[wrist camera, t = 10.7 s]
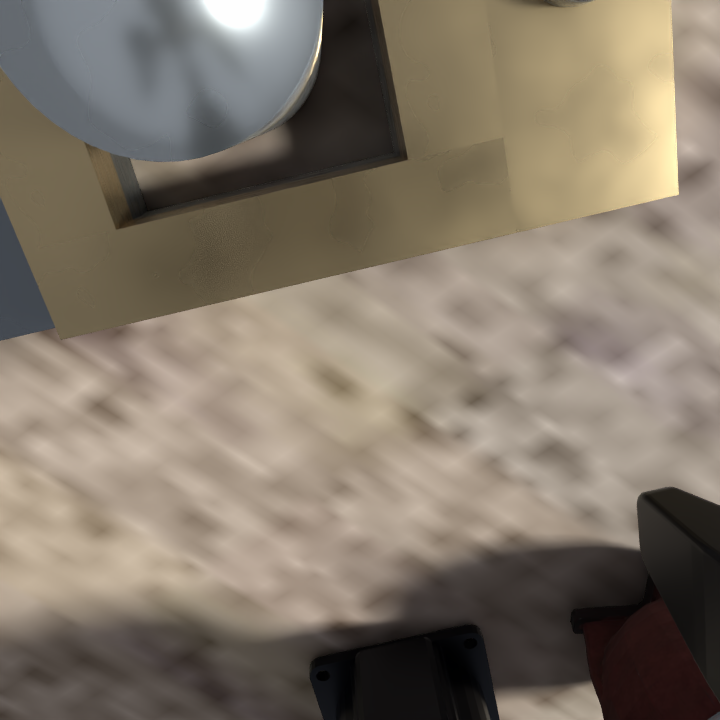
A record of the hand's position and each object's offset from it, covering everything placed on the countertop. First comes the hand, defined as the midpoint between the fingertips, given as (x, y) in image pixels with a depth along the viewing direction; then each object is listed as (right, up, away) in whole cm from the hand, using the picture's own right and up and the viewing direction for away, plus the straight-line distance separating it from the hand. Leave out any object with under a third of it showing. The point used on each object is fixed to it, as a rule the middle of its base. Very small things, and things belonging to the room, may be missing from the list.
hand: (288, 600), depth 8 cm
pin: (-2, +11, +8) cm, 14 cm away
